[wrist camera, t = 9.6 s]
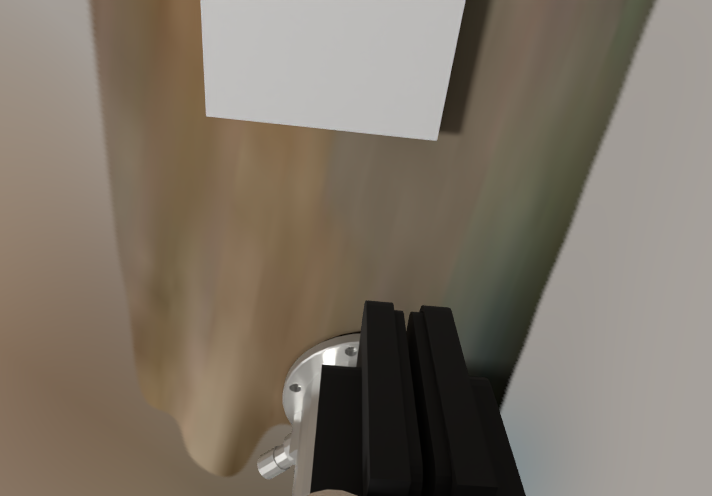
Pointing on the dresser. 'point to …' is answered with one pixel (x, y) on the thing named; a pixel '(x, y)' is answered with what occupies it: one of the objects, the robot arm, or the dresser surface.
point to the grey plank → (331, 63)
